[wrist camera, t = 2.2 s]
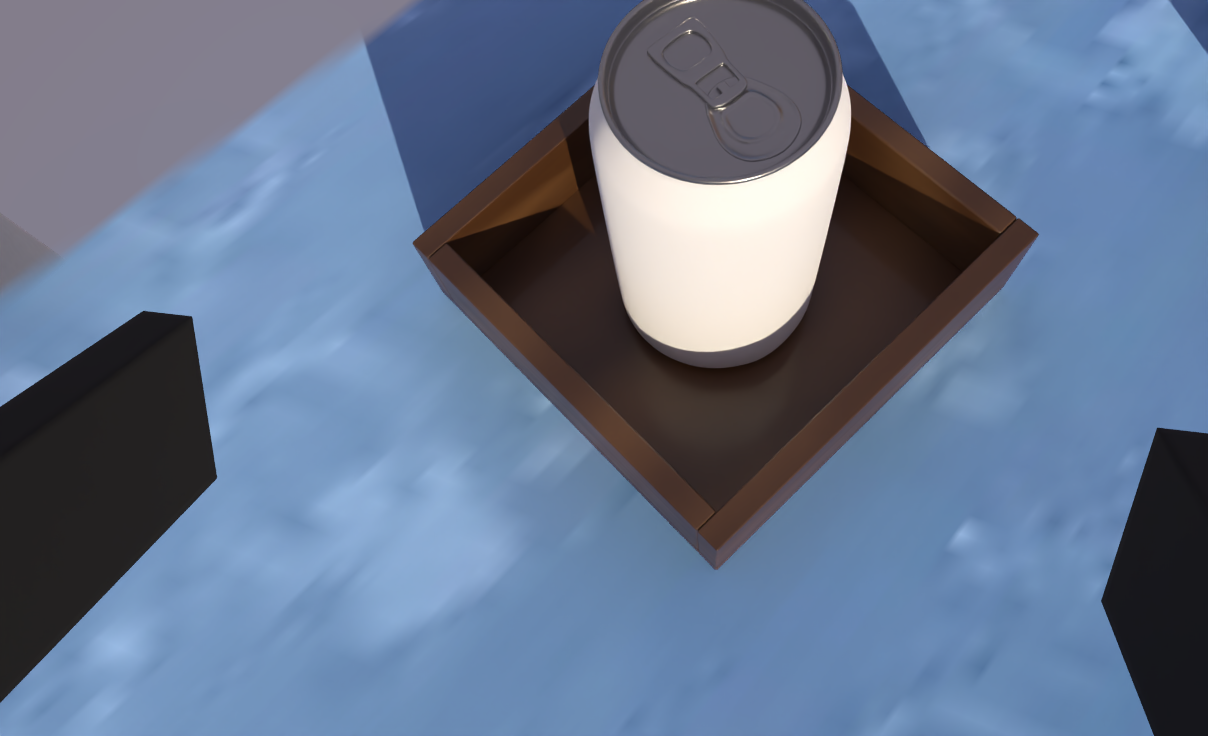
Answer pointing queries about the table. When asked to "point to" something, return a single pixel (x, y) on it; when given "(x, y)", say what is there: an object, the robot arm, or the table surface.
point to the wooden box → (735, 394)
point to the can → (718, 169)
